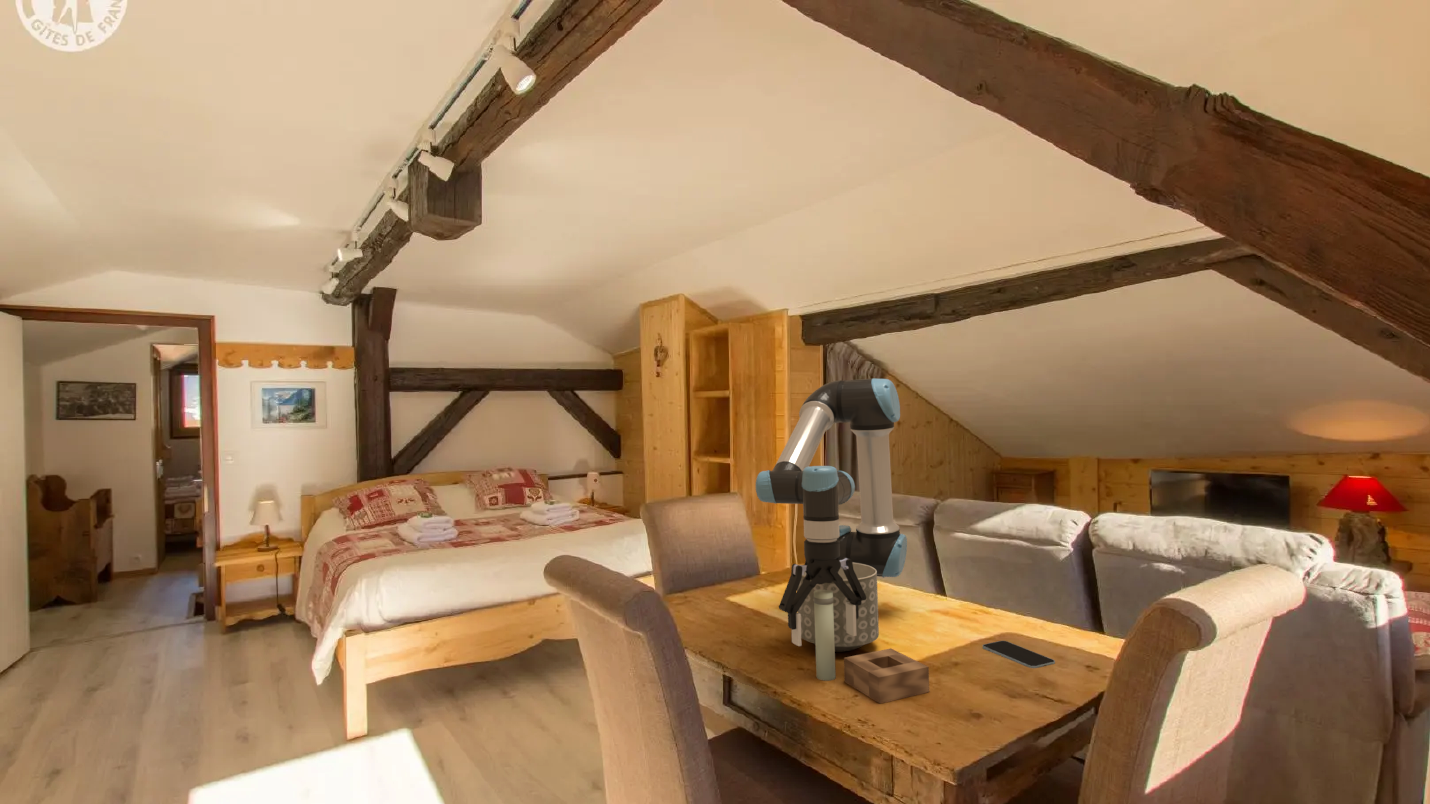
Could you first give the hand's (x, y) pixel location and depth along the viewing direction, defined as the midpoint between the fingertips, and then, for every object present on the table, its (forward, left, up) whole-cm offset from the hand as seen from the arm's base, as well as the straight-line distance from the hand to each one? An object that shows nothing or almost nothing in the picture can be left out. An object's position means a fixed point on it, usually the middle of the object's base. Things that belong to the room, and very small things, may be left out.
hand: (824, 639), depth 147 cm
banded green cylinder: (0, 0, -8) cm, 8 cm away
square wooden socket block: (-8, +10, -8) cm, 15 cm away
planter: (-13, -15, -8) cm, 22 cm away
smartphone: (-45, +9, -9) cm, 47 cm away
